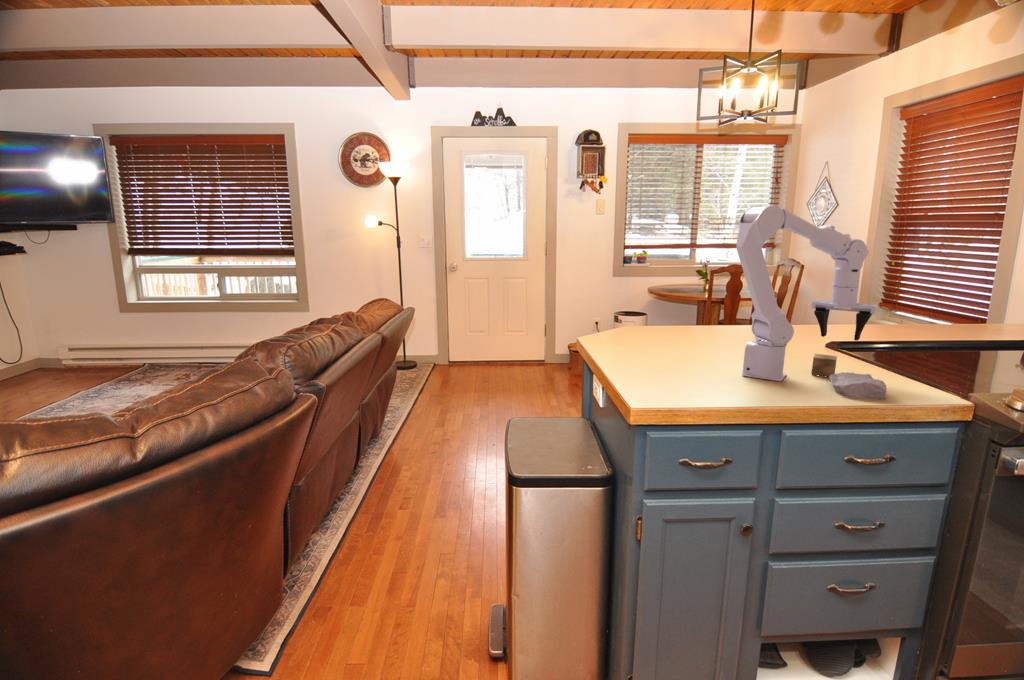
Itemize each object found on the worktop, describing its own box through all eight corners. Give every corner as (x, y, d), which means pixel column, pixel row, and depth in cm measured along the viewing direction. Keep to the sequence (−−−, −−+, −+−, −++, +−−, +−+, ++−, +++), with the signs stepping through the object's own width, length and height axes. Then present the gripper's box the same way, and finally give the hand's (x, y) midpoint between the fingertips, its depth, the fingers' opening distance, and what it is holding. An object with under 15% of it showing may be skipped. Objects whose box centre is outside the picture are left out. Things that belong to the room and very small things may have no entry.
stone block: (842, 405, 122) (891, 400, 120) (840, 385, 122) (889, 379, 119) (824, 392, 134) (868, 386, 131) (821, 373, 133) (866, 368, 131)
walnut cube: (811, 375, 140) (813, 357, 139) (813, 371, 144) (815, 353, 143) (833, 378, 137) (835, 360, 136) (834, 374, 141) (837, 356, 140)
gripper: (882, 286, 133) (876, 338, 136) (819, 283, 143) (814, 331, 146) (875, 289, 128) (869, 343, 131) (810, 285, 139) (805, 336, 141)
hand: (839, 337), depth 138 cm, fingers open, 7 cm apart
